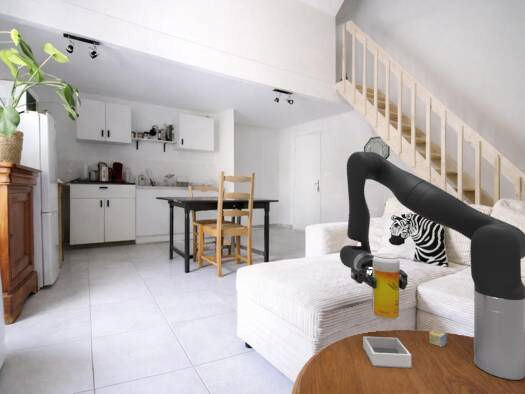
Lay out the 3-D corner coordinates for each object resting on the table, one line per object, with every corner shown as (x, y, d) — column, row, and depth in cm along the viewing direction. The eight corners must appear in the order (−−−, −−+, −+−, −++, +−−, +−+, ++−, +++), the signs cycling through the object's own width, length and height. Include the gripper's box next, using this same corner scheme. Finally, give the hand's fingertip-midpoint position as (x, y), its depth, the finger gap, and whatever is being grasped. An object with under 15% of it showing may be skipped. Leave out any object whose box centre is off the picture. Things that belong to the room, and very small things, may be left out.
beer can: (401, 322, 69) (402, 258, 69) (374, 320, 70) (375, 257, 70) (395, 312, 75) (396, 253, 75) (370, 310, 76) (371, 252, 76)
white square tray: (397, 349, 77) (397, 337, 77) (411, 368, 68) (411, 355, 68) (363, 347, 77) (363, 336, 77) (372, 366, 69) (373, 353, 69)
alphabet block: (441, 347, 78) (441, 336, 78) (429, 343, 80) (429, 331, 80) (446, 344, 79) (446, 333, 79) (434, 340, 82) (434, 329, 82)
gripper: (344, 254, 87) (358, 268, 71) (394, 255, 86) (421, 270, 70) (344, 279, 88) (358, 299, 71) (394, 281, 87) (420, 301, 70)
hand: (389, 284), depth 70 cm, fingers closed on beer can, 6 cm apart
